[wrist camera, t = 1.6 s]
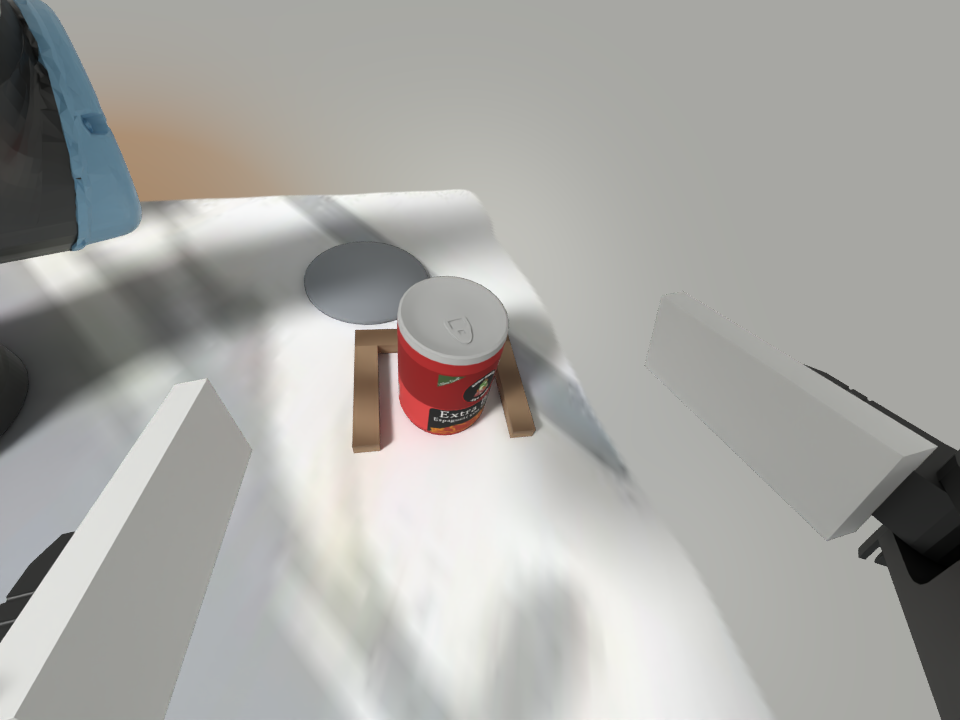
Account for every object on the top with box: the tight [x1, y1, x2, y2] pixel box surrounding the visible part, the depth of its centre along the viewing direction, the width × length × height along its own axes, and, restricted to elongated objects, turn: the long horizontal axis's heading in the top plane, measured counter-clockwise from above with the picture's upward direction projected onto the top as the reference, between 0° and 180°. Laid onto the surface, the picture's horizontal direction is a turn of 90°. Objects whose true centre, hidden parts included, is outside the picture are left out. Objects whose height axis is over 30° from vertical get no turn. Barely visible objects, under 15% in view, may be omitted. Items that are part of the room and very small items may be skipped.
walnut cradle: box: [352, 329, 536, 453], centre depth 34 cm, size 12×15×1 cm
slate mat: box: [304, 242, 427, 325], centre depth 41 cm, size 13×13×1 cm
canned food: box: [397, 276, 509, 435], centre depth 30 cm, size 8×8×11 cm
